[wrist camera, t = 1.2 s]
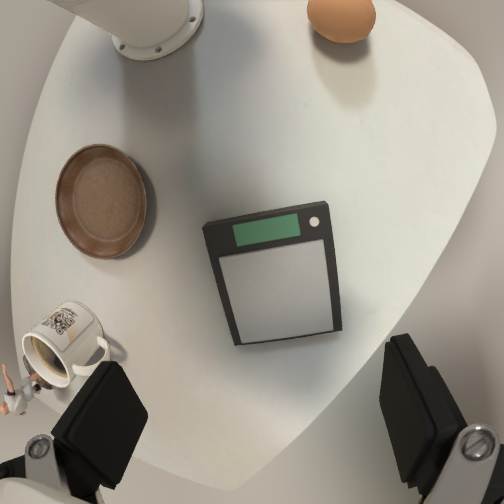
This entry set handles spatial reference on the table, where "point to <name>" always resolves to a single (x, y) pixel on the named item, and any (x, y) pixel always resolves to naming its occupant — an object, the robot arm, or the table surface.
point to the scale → (276, 273)
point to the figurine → (22, 391)
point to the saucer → (101, 201)
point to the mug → (65, 344)
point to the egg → (342, 19)
